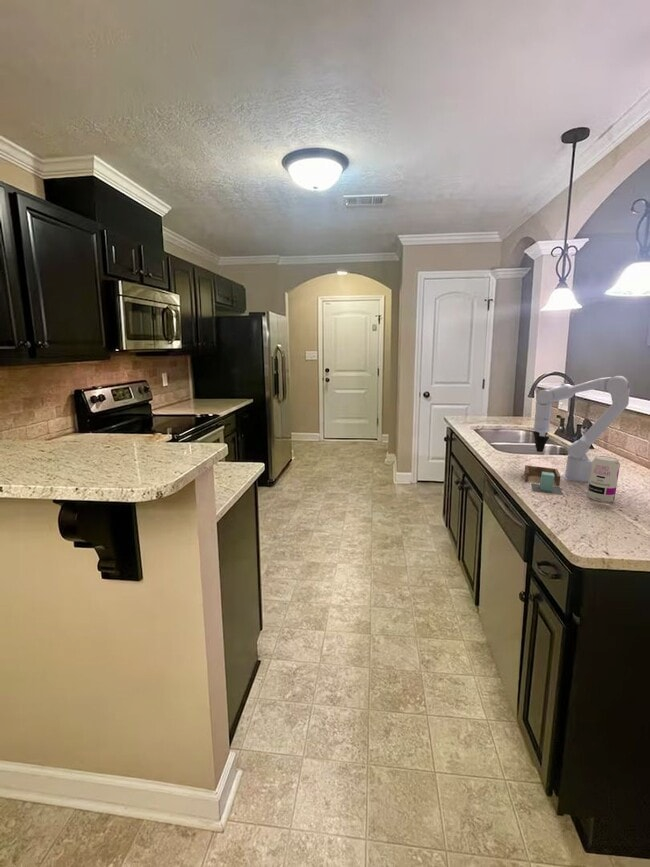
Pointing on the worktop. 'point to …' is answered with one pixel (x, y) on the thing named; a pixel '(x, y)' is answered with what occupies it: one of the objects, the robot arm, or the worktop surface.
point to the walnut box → (535, 474)
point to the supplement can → (603, 478)
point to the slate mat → (537, 489)
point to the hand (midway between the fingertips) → (539, 449)
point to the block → (547, 481)
